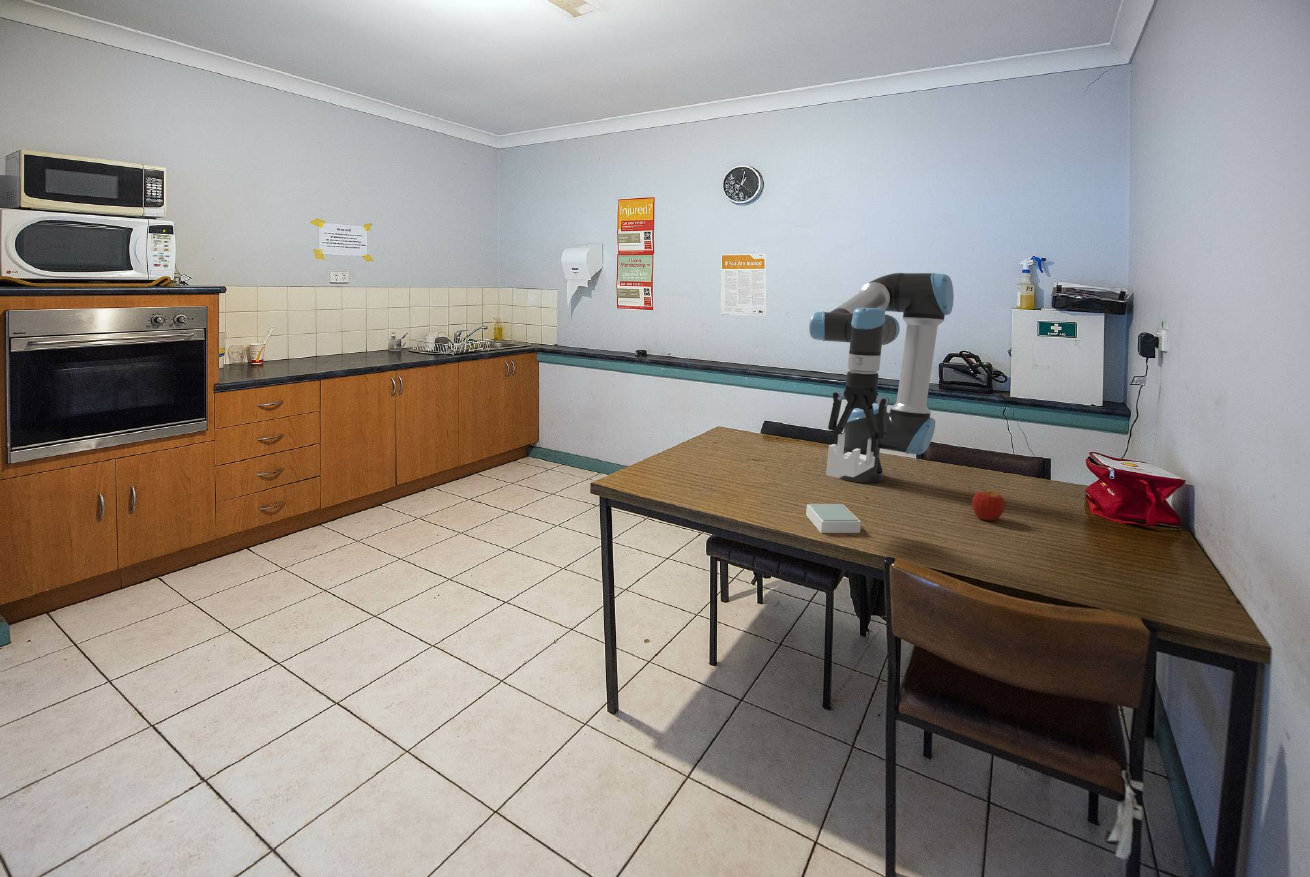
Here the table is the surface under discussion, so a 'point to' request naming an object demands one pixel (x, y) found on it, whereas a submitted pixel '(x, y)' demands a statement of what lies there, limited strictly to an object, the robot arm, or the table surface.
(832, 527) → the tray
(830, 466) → the bracket
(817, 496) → the table surface
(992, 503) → the apple
